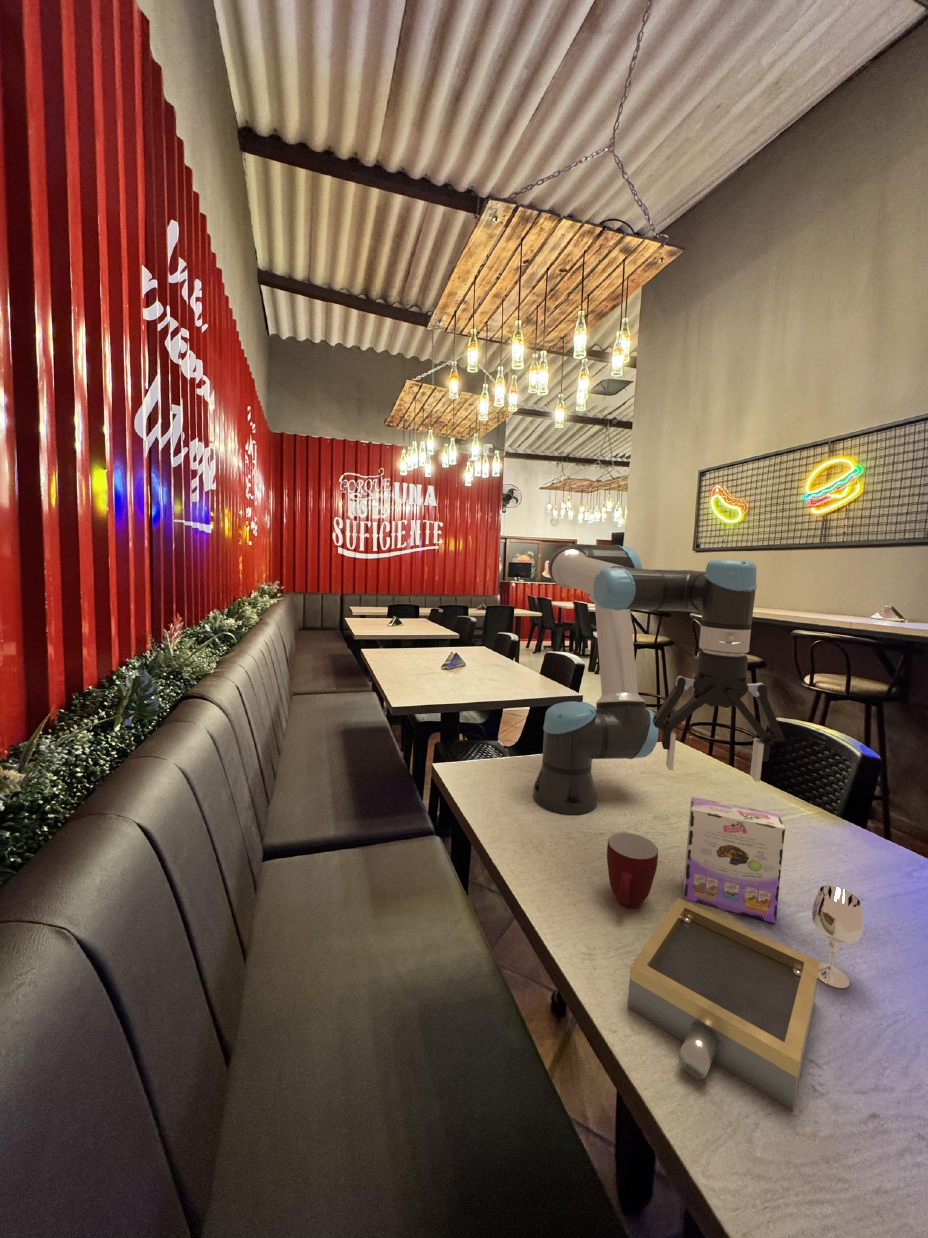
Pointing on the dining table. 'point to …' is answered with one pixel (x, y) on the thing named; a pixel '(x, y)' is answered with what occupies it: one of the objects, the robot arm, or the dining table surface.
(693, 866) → the candy box
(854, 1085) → the dining table surface
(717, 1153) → the dining table surface
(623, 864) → the mug
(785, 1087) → the shallow drawer tray
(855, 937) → the wineglass
